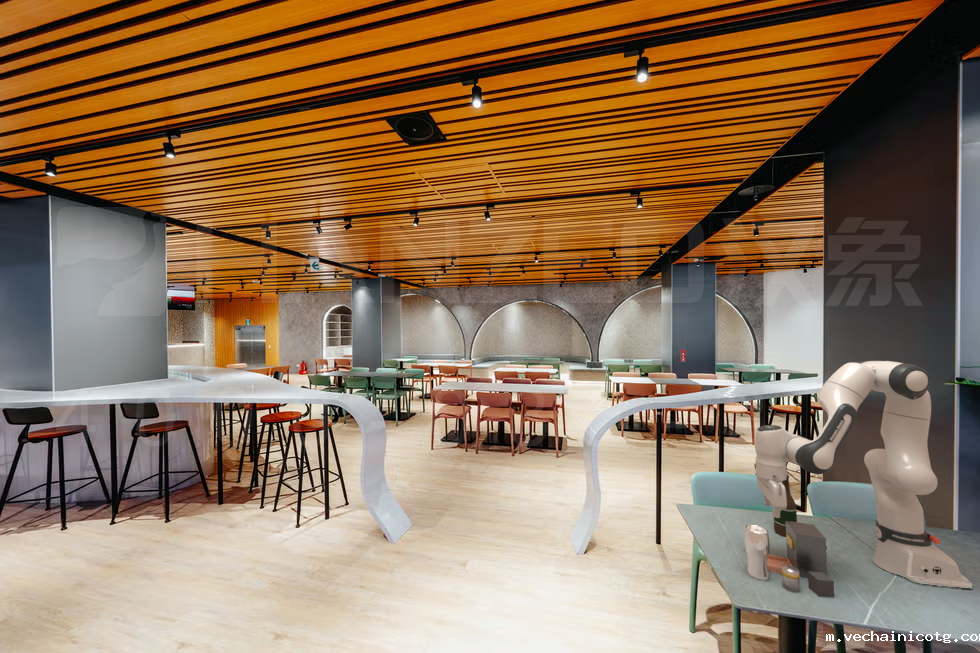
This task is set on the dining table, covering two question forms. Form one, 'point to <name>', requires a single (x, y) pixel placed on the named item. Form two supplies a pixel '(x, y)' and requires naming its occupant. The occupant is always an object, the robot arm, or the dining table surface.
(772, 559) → the tray
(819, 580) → the rubber block
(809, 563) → the dark grey block
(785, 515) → the beer bottle
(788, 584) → the cylinder
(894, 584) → the dining table surface
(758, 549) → the beer glass
